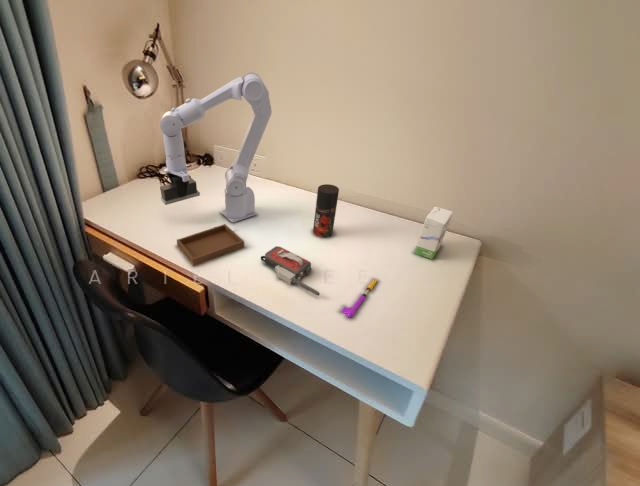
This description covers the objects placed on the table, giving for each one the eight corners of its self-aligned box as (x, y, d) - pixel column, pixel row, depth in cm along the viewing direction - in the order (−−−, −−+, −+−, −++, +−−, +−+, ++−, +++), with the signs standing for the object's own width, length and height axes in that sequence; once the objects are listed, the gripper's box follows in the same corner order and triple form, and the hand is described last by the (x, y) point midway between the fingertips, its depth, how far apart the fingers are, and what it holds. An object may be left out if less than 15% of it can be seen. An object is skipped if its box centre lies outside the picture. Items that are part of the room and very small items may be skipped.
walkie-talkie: (254, 265, 97) (316, 300, 85) (254, 252, 94) (317, 287, 82) (275, 251, 102) (335, 283, 90) (276, 238, 99) (338, 269, 87)
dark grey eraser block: (195, 191, 119) (193, 177, 116) (200, 195, 116) (198, 181, 113) (161, 200, 114) (159, 186, 111) (165, 205, 111) (163, 190, 108)
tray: (225, 230, 112) (225, 223, 111) (244, 247, 104) (244, 241, 102) (177, 246, 105) (176, 239, 104) (193, 266, 97) (192, 259, 96)
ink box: (432, 260, 97) (445, 223, 90) (413, 253, 100) (425, 217, 93) (441, 246, 102) (454, 210, 96) (423, 240, 105) (434, 205, 98)
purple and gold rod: (351, 319, 80) (377, 282, 90) (350, 314, 79) (377, 278, 90) (340, 315, 82) (367, 280, 92) (339, 311, 81) (367, 276, 91)
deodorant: (336, 231, 110) (342, 188, 101) (325, 240, 106) (332, 195, 98) (319, 225, 113) (325, 182, 105) (309, 232, 109) (313, 189, 101)
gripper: (154, 149, 110) (160, 188, 118) (171, 164, 100) (177, 206, 107) (175, 144, 113) (180, 183, 120) (194, 159, 102) (198, 200, 110)
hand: (180, 194), depth 114 cm, fingers closed on dark grey eraser block, 3 cm apart
